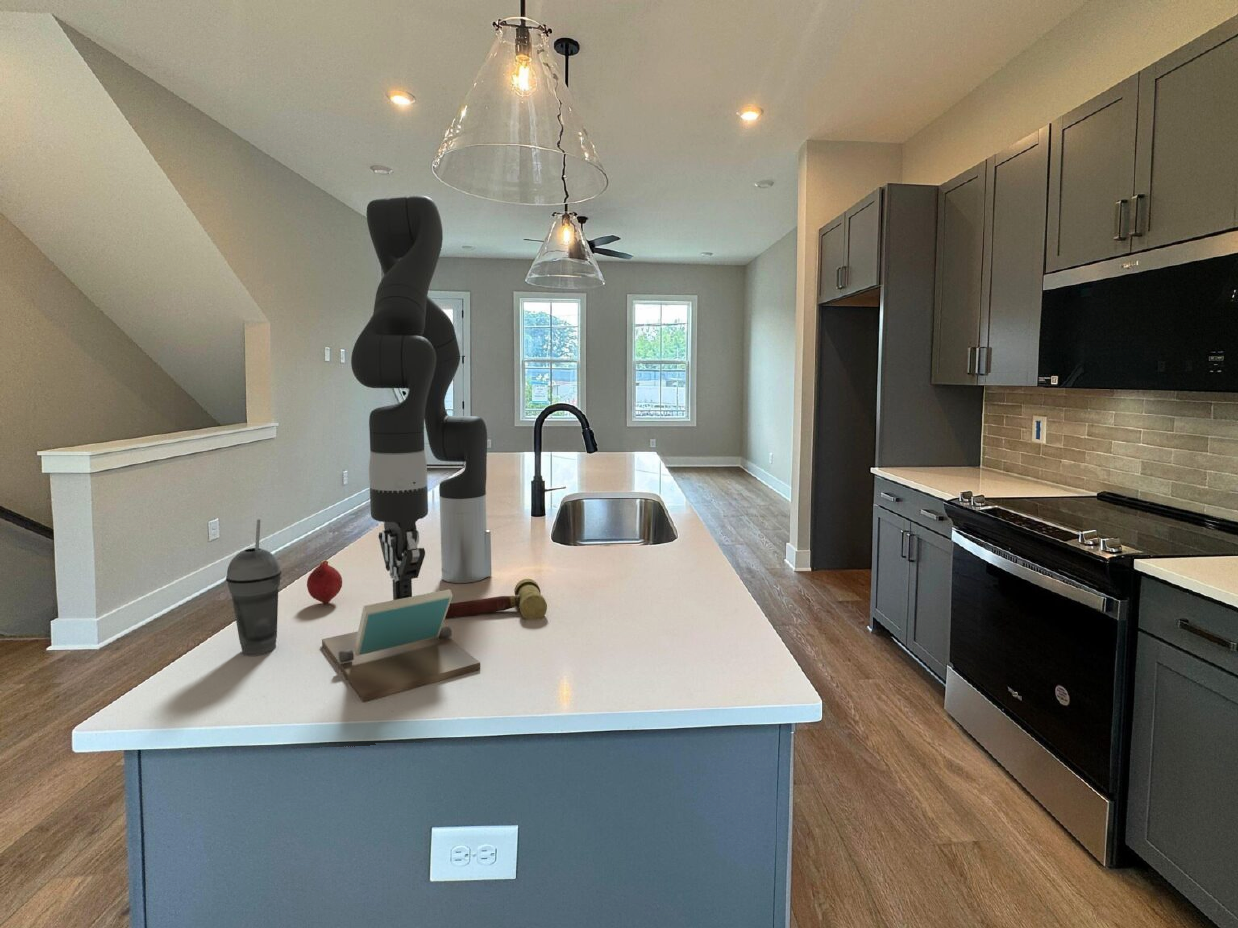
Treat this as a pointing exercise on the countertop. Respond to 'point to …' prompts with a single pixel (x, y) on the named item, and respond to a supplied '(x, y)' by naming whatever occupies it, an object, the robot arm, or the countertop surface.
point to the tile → (401, 621)
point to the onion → (324, 582)
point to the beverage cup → (255, 597)
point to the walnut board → (399, 664)
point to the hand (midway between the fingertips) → (402, 604)
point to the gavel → (505, 603)
